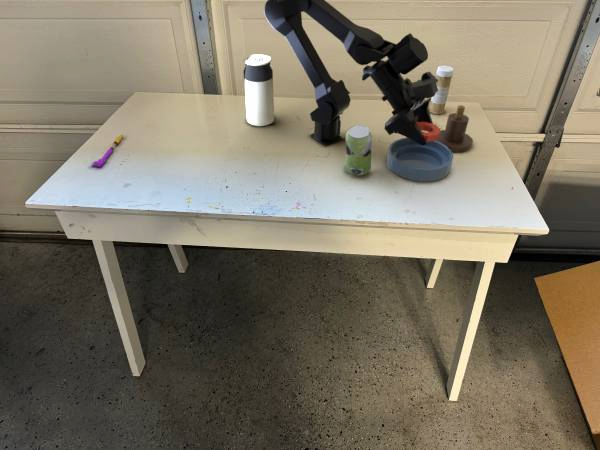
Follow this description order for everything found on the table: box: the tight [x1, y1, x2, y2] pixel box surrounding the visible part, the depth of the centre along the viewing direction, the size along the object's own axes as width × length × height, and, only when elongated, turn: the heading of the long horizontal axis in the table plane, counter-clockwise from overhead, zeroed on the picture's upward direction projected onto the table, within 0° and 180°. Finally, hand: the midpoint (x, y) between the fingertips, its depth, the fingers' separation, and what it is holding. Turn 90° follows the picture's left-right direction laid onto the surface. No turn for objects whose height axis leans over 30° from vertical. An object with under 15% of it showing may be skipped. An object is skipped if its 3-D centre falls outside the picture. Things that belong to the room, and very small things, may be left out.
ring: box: [417, 122, 442, 142], centre depth 107 cm, size 7×7×2 cm
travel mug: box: [243, 53, 275, 127], centre depth 125 cm, size 8×8×18 cm
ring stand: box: [436, 104, 474, 154], centre depth 118 cm, size 10×10×11 cm
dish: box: [386, 137, 454, 182], centre depth 111 cm, size 16×16×4 cm
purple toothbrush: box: [91, 134, 124, 168], centre depth 116 cm, size 3×1×16 cm
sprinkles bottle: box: [429, 65, 455, 115], centre depth 132 cm, size 5×5×13 cm
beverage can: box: [345, 124, 373, 176], centre depth 106 cm, size 6×7×12 cm
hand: (429, 138), depth 107 cm, fingers closed on ring, 7 cm apart
